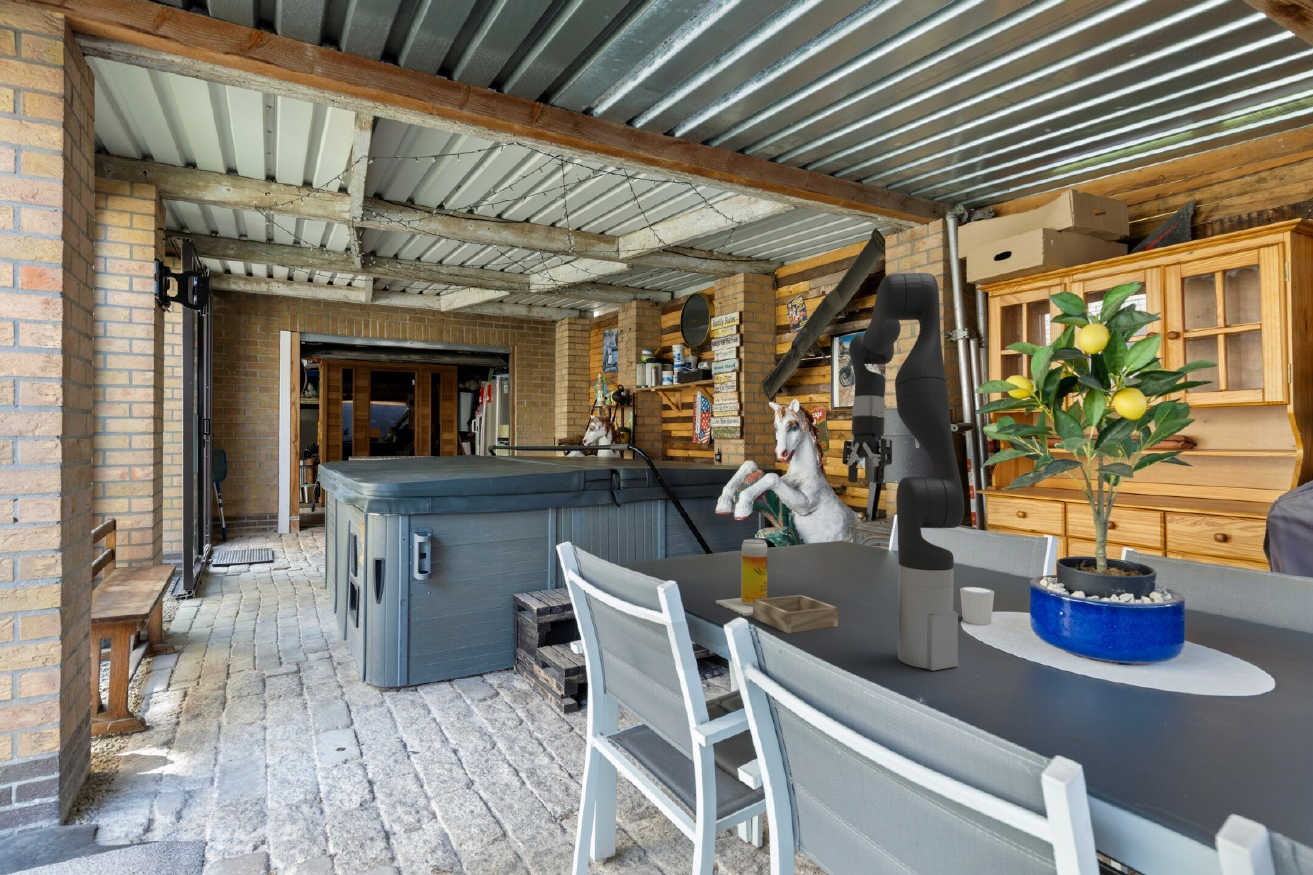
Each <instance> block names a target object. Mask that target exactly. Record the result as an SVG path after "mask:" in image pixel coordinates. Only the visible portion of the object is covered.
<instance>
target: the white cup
mask: <svg viewBox="0 0 1313 875" xmlns="http://www.w3.org/2000/svg"><path fill="white" fill-rule="evenodd" d="M959 590H960V591H959V592H960V602H961V613H962V621H963V622H965V623H969V624H973V625H978V626H979V625H981V626H984V625H990V624H992V616H993V609H994V608H993V606H994V598H995V590H992V589H989V588H984V587H978V586H964V587H960V589H959Z"/></svg>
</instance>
